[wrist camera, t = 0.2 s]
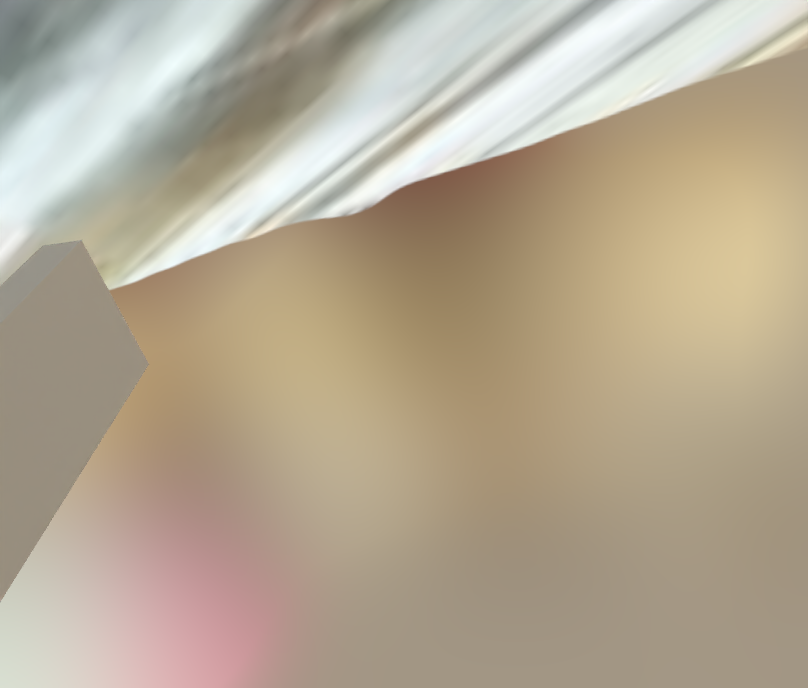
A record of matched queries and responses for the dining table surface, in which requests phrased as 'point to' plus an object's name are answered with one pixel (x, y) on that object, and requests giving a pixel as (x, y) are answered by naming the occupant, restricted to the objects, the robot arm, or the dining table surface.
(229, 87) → the dining table surface
